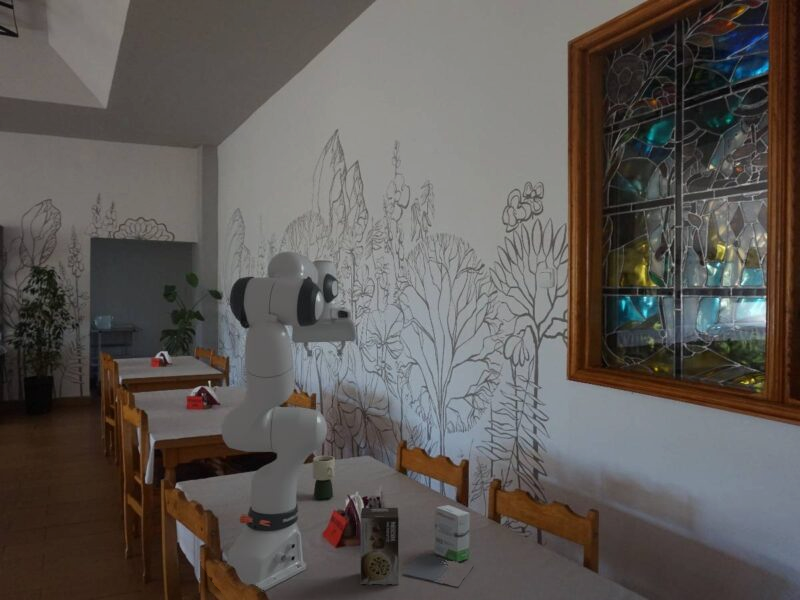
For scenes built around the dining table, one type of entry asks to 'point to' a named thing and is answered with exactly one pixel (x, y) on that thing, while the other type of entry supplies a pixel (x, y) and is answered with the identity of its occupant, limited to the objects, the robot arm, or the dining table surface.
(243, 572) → the robot arm
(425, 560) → the felt mat
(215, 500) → the dining table surface
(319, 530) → the dining table surface
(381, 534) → the coffee box
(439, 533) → the ink box
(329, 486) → the character mug
